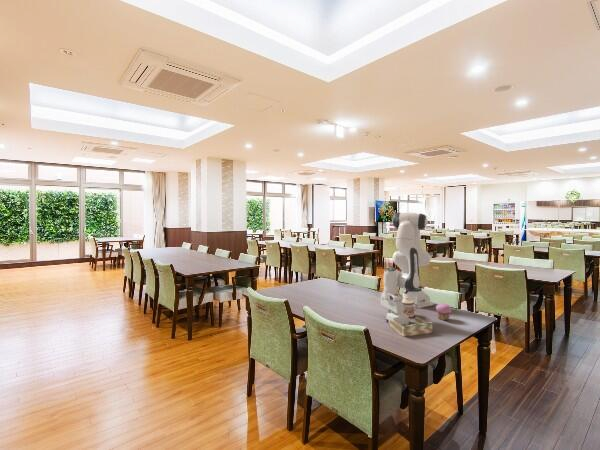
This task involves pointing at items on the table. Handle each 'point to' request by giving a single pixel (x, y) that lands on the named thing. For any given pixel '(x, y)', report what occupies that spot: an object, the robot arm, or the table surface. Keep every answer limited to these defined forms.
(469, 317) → the table surface
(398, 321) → the trolley
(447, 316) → the cupcake
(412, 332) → the bay
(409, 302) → the teacup with lid
